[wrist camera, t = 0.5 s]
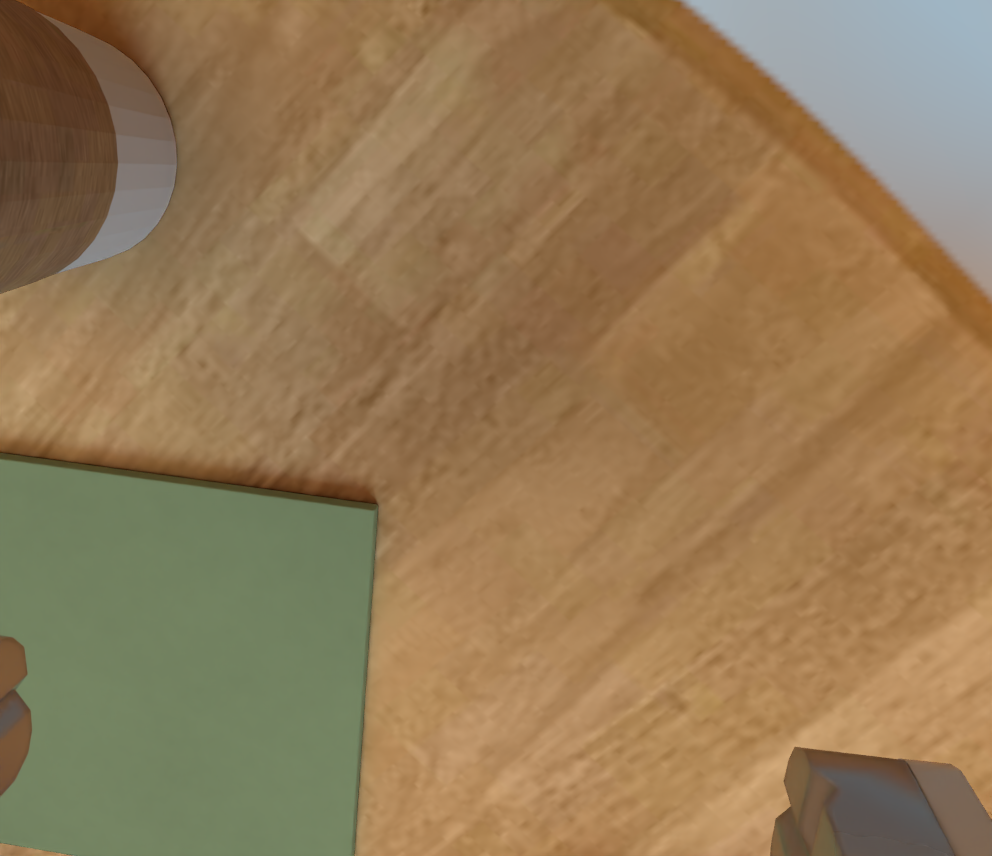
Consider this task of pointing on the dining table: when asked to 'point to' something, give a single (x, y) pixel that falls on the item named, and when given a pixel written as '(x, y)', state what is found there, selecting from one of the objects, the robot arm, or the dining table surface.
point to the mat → (184, 662)
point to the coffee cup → (74, 149)
